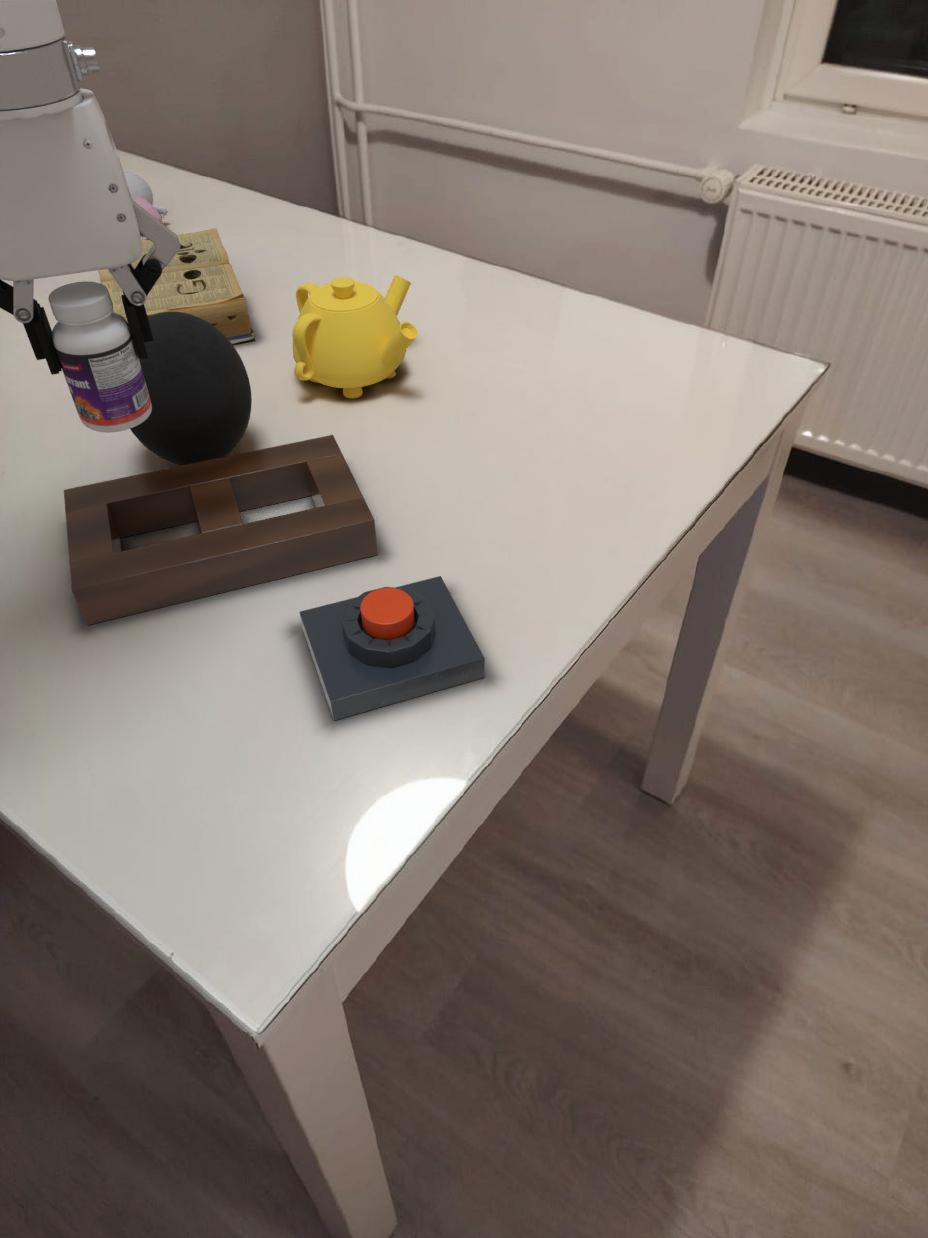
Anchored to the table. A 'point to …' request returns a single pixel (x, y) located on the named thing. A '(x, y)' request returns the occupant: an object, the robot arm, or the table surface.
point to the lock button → (387, 613)
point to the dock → (213, 528)
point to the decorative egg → (192, 391)
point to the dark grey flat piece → (391, 651)
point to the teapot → (350, 333)
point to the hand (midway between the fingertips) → (98, 355)
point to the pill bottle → (98, 358)
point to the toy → (144, 195)
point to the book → (194, 286)
